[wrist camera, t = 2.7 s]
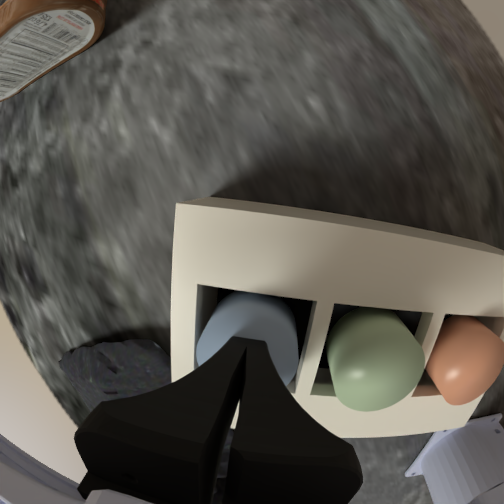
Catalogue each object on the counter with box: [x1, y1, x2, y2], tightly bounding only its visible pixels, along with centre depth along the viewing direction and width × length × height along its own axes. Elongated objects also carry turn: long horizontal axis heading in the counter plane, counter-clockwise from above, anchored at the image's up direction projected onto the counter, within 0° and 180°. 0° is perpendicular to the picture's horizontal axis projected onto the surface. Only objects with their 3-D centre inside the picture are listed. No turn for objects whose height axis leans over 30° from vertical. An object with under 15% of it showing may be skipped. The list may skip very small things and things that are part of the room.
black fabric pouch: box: [59, 339, 234, 504], centre depth 20 cm, size 15×22×5 cm
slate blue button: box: [196, 290, 299, 386], centre depth 12 cm, size 4×4×3 cm
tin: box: [0, 0, 107, 102], centre depth 11 cm, size 15×3×8 cm, turn 100°
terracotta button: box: [425, 314, 504, 405], centre depth 11 cm, size 4×4×3 cm
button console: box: [171, 197, 504, 438], centre depth 14 cm, size 18×11×6 cm, turn 83°
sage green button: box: [326, 306, 425, 412], centre depth 12 cm, size 4×4×3 cm
